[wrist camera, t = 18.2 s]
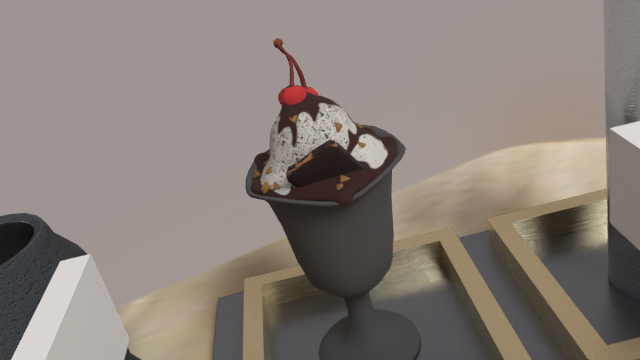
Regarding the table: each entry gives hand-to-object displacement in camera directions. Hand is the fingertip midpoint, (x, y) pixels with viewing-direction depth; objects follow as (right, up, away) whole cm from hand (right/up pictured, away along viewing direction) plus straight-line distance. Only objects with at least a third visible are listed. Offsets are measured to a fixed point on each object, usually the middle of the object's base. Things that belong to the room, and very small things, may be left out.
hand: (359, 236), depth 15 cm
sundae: (+1, -7, +14) cm, 16 cm away
